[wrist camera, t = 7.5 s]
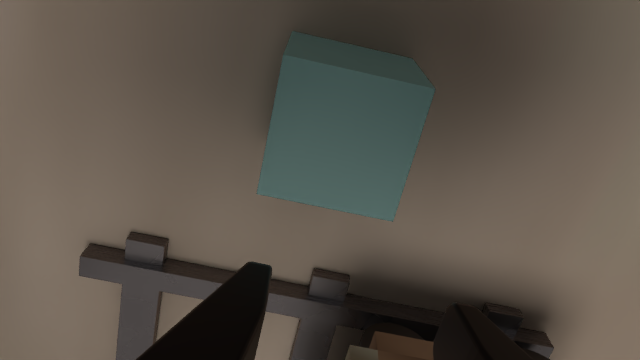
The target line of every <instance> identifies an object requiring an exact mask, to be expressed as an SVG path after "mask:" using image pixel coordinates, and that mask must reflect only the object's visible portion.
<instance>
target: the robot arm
mask: <svg viewBox="0 0 640 360" xmlns="http://www.w3.org/2000/svg"><path fill="white" fill-rule="evenodd" d="M271 276H272V267H271V266H270V265H266V264H261V263H256V262H247V263H246V264H245V265H244V266H243V267H242V268H240V269H239V270H238V271H237V272H236V273H235V274H233V275H232V276H231V277H230V278H229V279H228V280H227V281H225V282H224V283H223V284H222V285H221V286H220V287H218V288H217V289H216V290H215V291H214V292H213V293H212V294H210V295H209V296H208V297H207V298H206V299H205V300H203V301H202V302H201V303H200V304H199V305H198V306H197V307H195V308H194V309H193V310H192V311H191V312H190V313H188V314H187V315H186V316H185V317H184V318H183V319H182V320H180V321H179V322H178V323H177V324H176V325H175V326H173V327H172V328H171V329H170V330H169V331H168V332H167V333H165V334H164V335H163V336H162V337H161V338H160V339H159V340H157V341H156V342H155V343H154V344H153V345H152V346H150V347H149V348H148V349H147V350H146V351H145V352H144V353H142V354H141V355H140V356H139V357H138V358H137V359H135V360H254V359H255V355H256V350H257V346H258V342H259V337H260V333H261V329H262V324H263V320H264V316H265V311H266V307H267V302H268V295H269V289H270V282H271ZM433 360H533V359H532V358H531V357H530V356H529V355H528V354H527V353H526V352H525V351H524V350H522V349H521V348H520V347H519V346H518V345H517V344H516V343H515V342H514V341H513V340H511V339H510V338H509V337H508V336H507V335H506V334H505V333H504V332H503V331H502V330H500V329H499V328H498V327H497V326H496V325H495V324H494V323H493V322H492V321H491V320H489V319H488V318H487V317H486V316H485V315H484V314H483V313H482V312H481V311H480V310H478V309H477V308H476V307H474V306H471V305H466V304H461V303H456V302H454V303H451V304H450V305H449V306H448V308H447V310H446V312H445V315H444V317H443V319H442V322H441V324H440V327H439V329H438V332H437V334H436V336H435V339H434V344H433Z"/></svg>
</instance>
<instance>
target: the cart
mask: <svg viewBox="0 0 640 360" xmlns="http://www.w3.org/2000/svg"><path fill="white" fill-rule="evenodd" d="M433 344H434V342H431V341H425V340H424V339H423V338H422V337H421V336H419V335H418V334H417V333H415V332H414V331H412V330H410V329H408V328H406V327H404V326H401V325H398V324H394V323H376V324H373V325H371V326H369V327H368V328H367V329H366V330H365V331H364V333H363V335H362V338H361V341H360V344H359V347H358V346H353V345H350V346H349V349H348V352H347V355H346V359H345V360H433ZM521 349H522V350H524V351H525V352H526V353H527V354H528V355H529V356H530V357H531V358H532V359H533V360H550V359H548V358H547V357H545V356H543V355H541V354H539V353H537V352H534V351H531V350H528V349H524V348H521Z"/></svg>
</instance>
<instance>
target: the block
mask: <svg viewBox="0 0 640 360" xmlns="http://www.w3.org/2000/svg"><path fill="white" fill-rule="evenodd" d="M434 92H435V88H434V86H433V85H432V84H431V82H430V81H429V80H428V78H427V77H426V76H425V74H424V73H423V72H422V70H421V69H420V68H419V66H418V65H417V64H416V62H415V61H414V60H413V58H408V57H404V56H399V55H395V54H391V53H386V52H382V51H378V50H373V49H369V48H365V47H360V46H356V45H352V44H347V43H343V42H339V41H334V40H330V39H326V38H321V37H317V36H313V35H308V34H304V33H300V32H295V31H292V33H291V36H290V38H289V41H288V44H287V46H286V49H285V51H284V54H283V59H282V64H281V69H280V74H279V79H278V85H277V90H276V95H275V100H274V106H273V111H272V116H271V121H270V126H269V132H268V137H267V142H266V147H265V152H264V158H263V163H262V168H261V173H260V179H259V184H258V189H257V194H259V195H264V196H269V197H274V198H279V199H284V200H289V201H294V202H298V203H303V204H308V205H313V206H318V207H323V208H328V209H333V210H338V211H343V212H348V213H353V214H358V215H362V216H367V217H372V218H377V219H382V220H387V221H392V222H393V220H394V217H395V214H396V211H397V208H398V205H399V201H400V198H401V195H402V192H403V189H404V186H405V183H406V180H407V176H408V173H409V170H410V167H411V164H412V161H413V158H414V155H415V152H416V148H417V145H418V142H419V139H420V136H421V133H422V130H423V127H424V123H425V120H426V117H427V114H428V111H429V108H430V105H431V102H432V99H433V95H434Z"/></svg>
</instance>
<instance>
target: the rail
mask: <svg viewBox="0 0 640 360" xmlns="http://www.w3.org/2000/svg"><path fill="white" fill-rule="evenodd" d="M167 247H168V239H164V238H159V237H154V236H149V235H144V234H139V233H134V232H131V233H130V234H129V236H128V237H127V239H126V247H125V250H120V249H115V248H110V247H105V246H100V245H94V244H89V245H88V247H87V248H86V249H85V250H84V252H83V253H82V254H81V256H80V266H79V276H83V277H88V278H93V279H98V280H104V281H109V282H114V283H119V284H122V293H121V305H120V317H119V328H118V340H117V352H116V360H135V359H137V358H138V357H139V356H140V355H141V354H142V353H144V352H145V351H146V350H147V349H148V348H149V347H150V346H152V345H153V344H154V343H155V342H156V335H157V327H158V319H159V311H160V303H161V295H162V292H167V293H172V294H177V295H182V296H188V297H193V298H198V299H203V300H205V299H206V298H207V297H208V296H209V295H210V294H212V293H213V292H214V291H215V290H216V289H217V288H218V287H220V286H221V285H222V284H223V283H224V282H225V281H227V280H228V279H229V278H230V277H231V276H232V275H233V274H235V273H236V272H232V271H227V270H222V269H217V268H212V267H207V266H201V265H196V264H191V263H186V262H181V261H176V260H171V259H166V255H167ZM348 286H349V275H345V274H340V273H335V272H330V271H325V270H320V269H315V268H314V269H313V272H312V276H311V280H310V284H309V286H303V285H298V284H293V283H288V282H283V281H278V280H273V279H271V282H270V289H269V295H268V302H267V307H266V312H271V313H277V314H282V315H287V316H292V317H298V318H300V321H299V325H298V328H297V332H296V336H295V340H294V343H293V347H292V351H291V355H290V358H289V360H326V358H327V355H328V352H329V348H330V345H331V342H332V339H333V335H334V332H335V329H336V325H340V326H345V327H350V328H355V329H360V330H366V329H367V328H368V327H369V326H371V325H373V324H376V323H394V324H398V325H401V326H404V327H406V328H408V329H410V330H412V331H414V332H415V333H417V334H418V335H419V336H421V337H422V338H423V339H424V340H425V341H431V342H434V339H435V336H436V334H437V332H438V329H439V327H440V324H441V322H442V319H443V317H444V315H445V313H441V312H436V311H431V310H426V309H421V308H416V307H411V306H405V305H400V304H395V303H390V302H385V301H380V300H375V299H370V298H365V297H360V296H354V295H349V294H346V293H347V290H348ZM482 313H483V314H484V315H485V316H486V317H487V318H488V319H489V320H491V321H492V322H493V323H494V324H495V325H496V326H497V327H498V328H499V329H500V330H502V331H503V332H504V333H505V334H506V335H507V336H508V337H509V338H510V339H511V340H513V341H514V342H515V343H516V344H517V345H518V346H519V347H520V348H524V349H528V350H531V351H534V352H537V353H539V354H541V355H543V356H545V357H547V358H548V359H549V357H550V355H551V353H552V351H553V349H554V347H553V345H552V344H551V342H550V340H549V338H548V336H547V335H546V333H543V332H538V331H533V330H528V329H523V328H519V327H520V325H521V323H522V321H523V319H524V317H523V315H522V314H521V312H520V310H519V309H515V308H510V307H505V306H500V305H495V304H490V303H486V304H485V306H484V308H483V310H482Z"/></svg>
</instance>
